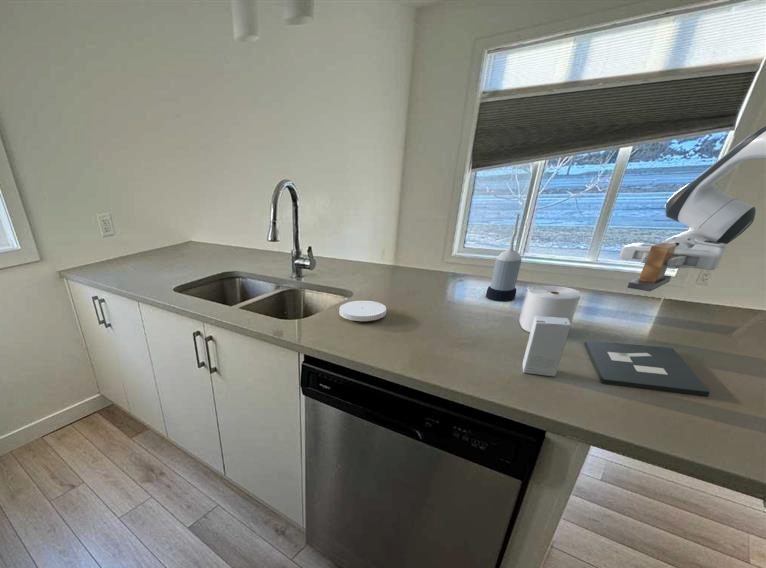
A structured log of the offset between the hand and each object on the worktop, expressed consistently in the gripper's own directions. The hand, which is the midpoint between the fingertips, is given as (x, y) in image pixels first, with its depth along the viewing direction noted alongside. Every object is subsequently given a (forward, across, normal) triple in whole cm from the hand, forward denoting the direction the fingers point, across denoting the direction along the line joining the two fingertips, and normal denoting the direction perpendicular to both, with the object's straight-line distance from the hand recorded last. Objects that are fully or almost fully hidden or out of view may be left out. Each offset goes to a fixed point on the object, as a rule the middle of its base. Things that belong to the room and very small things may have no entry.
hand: (656, 261), depth 106 cm
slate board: (+38, +14, +13) cm, 42 cm away
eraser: (-1, 0, +6) cm, 7 cm away
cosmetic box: (+54, +2, +13) cm, 56 cm away
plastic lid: (+58, -48, +13) cm, 76 cm away
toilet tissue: (+31, -10, +13) cm, 35 cm away
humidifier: (+16, -30, +13) cm, 36 cm away
